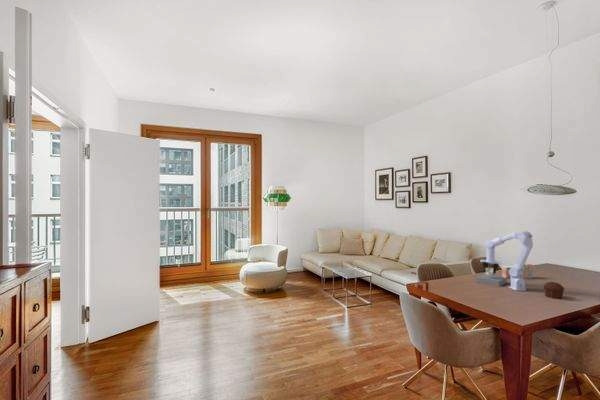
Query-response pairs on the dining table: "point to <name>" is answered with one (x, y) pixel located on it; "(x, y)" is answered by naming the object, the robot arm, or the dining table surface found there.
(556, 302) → the dining table surface
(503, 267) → the stack of blocks
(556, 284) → the muffin
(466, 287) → the dining table surface
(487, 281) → the base block
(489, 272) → the sage cube
